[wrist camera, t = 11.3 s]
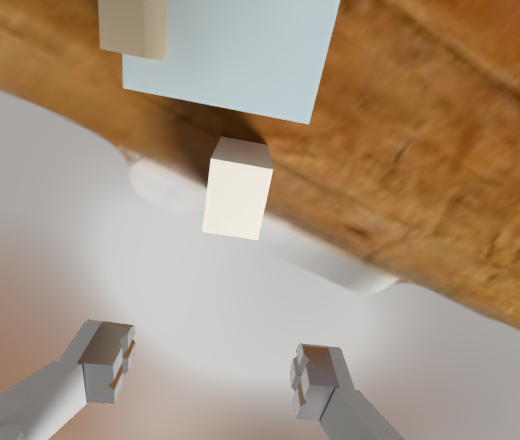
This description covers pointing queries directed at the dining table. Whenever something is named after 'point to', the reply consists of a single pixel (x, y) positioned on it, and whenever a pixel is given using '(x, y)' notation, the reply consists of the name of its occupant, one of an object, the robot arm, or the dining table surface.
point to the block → (237, 188)
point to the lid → (223, 51)
